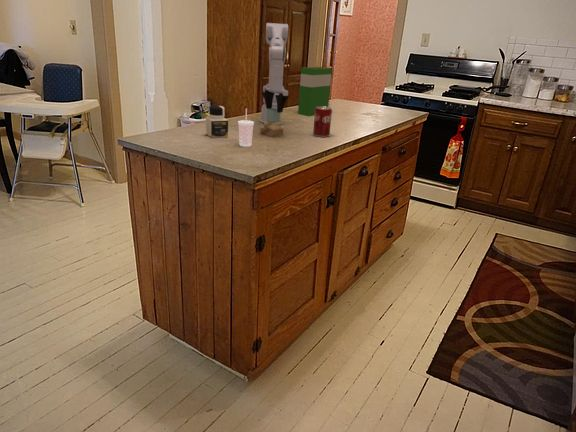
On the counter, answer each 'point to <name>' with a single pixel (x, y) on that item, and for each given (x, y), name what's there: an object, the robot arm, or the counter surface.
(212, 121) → the medicine bottle
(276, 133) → the walnut slab
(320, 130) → the soda can
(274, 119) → the teal block
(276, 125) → the maple cube
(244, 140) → the beverage cup
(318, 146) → the counter surface
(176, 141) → the counter surface
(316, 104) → the hardback book
